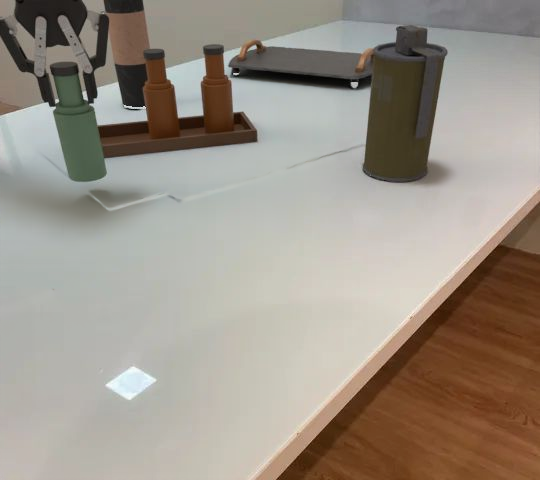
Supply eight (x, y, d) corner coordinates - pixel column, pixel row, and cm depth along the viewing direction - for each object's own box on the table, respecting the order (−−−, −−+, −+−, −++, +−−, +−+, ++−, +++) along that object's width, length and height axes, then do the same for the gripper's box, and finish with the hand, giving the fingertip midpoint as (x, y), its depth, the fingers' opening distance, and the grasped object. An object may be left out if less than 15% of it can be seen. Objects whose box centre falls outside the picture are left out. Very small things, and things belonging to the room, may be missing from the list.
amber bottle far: (215, 141, 100) (207, 51, 91) (199, 133, 104) (191, 46, 94) (240, 135, 103) (235, 46, 93) (224, 127, 106) (218, 41, 97)
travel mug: (126, 112, 117) (106, -1, 104) (118, 103, 122) (98, -6, 109) (162, 107, 119) (146, -4, 106) (152, 98, 124) (137, -9, 111)
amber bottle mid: (159, 147, 98) (146, 56, 89) (145, 139, 102) (131, 50, 92) (186, 140, 101) (175, 51, 92) (171, 133, 104) (160, 45, 95)
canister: (350, 163, 92) (361, 24, 80) (404, 154, 95) (423, 18, 82) (384, 188, 85) (402, 38, 72) (442, 176, 88) (469, 31, 75)
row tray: (76, 164, 95) (73, 149, 93) (77, 142, 103) (74, 127, 102) (257, 145, 100) (257, 130, 99) (244, 125, 109) (243, 111, 107)
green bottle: (77, 185, 78) (50, 72, 69) (63, 173, 82) (35, 63, 72) (113, 176, 81) (91, 65, 71) (98, 164, 84) (75, 57, 75)
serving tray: (217, 76, 138) (215, 48, 134) (258, 56, 154) (258, 31, 150) (367, 92, 125) (370, 61, 121) (396, 68, 140) (399, 41, 136)
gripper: (99, -59, 68) (124, 92, 79) (-26, -55, 65) (18, 100, 76) (100, -54, 62) (127, 107, 73) (-36, -50, 60) (13, 116, 71)
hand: (71, 103), depth 75 cm, fingers closed on green bottle, 4 cm apart
